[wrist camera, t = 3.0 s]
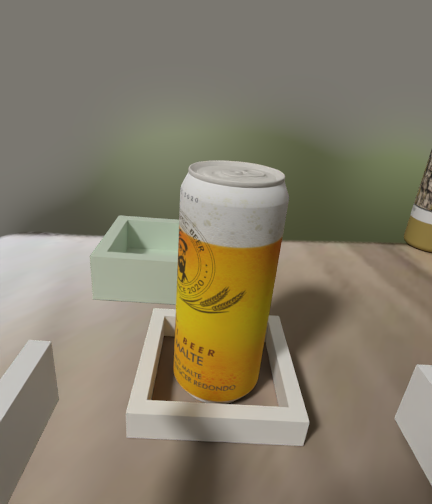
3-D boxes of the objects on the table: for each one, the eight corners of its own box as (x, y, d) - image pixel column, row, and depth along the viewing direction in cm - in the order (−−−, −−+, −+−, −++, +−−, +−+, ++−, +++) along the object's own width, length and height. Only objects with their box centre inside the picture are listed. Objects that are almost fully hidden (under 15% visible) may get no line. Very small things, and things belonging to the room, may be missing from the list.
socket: (210, 256, 44) (213, 222, 42) (209, 306, 34) (213, 264, 32) (120, 250, 44) (119, 215, 42) (92, 299, 34) (89, 256, 32)
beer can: (162, 358, 27) (167, 159, 21) (233, 341, 30) (256, 159, 23) (190, 422, 22) (207, 186, 16) (273, 396, 25) (316, 182, 18)
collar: (275, 335, 31) (278, 315, 30) (303, 445, 21) (309, 422, 21) (153, 327, 30) (153, 308, 30) (126, 437, 21) (125, 413, 20)
